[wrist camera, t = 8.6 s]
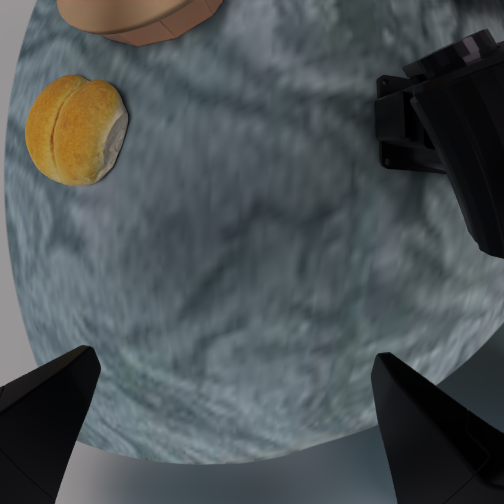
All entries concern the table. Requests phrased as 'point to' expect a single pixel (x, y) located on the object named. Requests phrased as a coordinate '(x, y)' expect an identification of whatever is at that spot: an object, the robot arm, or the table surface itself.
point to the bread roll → (76, 130)
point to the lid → (116, 14)
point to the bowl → (170, 24)
